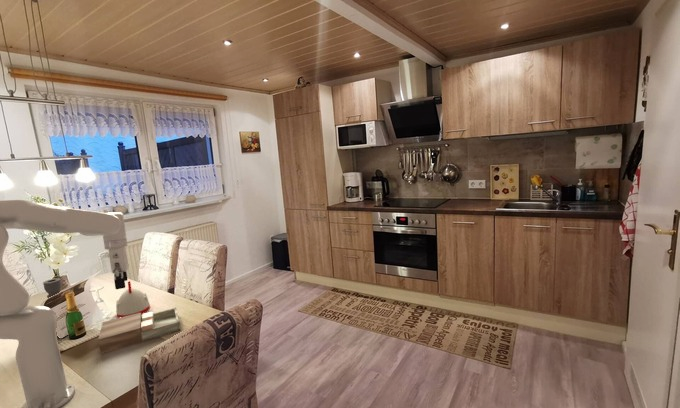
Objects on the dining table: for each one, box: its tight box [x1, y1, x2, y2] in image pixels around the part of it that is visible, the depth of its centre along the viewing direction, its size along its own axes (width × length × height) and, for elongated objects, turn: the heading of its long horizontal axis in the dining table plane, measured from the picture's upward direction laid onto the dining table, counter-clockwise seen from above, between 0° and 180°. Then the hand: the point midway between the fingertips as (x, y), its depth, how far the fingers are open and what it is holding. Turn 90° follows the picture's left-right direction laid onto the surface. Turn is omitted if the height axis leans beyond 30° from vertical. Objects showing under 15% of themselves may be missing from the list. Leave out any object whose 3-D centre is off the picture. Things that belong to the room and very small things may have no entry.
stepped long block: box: [97, 307, 181, 355], centre depth 139 cm, size 16×28×6 cm, turn 121°
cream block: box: [141, 310, 154, 327], centre depth 143 cm, size 5×5×4 cm
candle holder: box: [42, 277, 63, 340], centre depth 139 cm, size 6×6×25 cm
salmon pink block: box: [141, 319, 154, 331], centre depth 136 cm, size 5×5×4 cm
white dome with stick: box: [115, 280, 151, 318], centre depth 159 cm, size 14×14×15 cm
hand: (121, 284), depth 131 cm, fingers open, 9 cm apart
